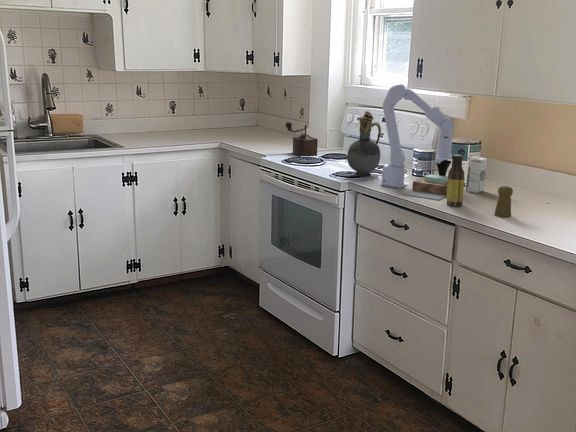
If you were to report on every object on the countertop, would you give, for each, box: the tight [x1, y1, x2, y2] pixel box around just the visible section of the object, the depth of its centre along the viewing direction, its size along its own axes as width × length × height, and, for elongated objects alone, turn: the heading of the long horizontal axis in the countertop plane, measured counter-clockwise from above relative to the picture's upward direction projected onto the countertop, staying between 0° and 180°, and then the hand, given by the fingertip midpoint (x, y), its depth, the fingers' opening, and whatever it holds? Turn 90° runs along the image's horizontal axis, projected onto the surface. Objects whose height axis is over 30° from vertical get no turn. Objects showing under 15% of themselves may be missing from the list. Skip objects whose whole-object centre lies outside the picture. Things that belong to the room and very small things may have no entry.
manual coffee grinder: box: [285, 121, 318, 157], centre depth 349 cm, size 16×11×18 cm
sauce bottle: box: [446, 153, 465, 208], centre depth 247 cm, size 6×6×20 cm
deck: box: [411, 176, 448, 197], centre depth 273 cm, size 15×12×4 cm
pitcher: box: [346, 110, 382, 178], centre depth 299 cm, size 11×19×30 cm, turn 133°
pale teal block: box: [423, 173, 448, 184], centre depth 273 cm, size 9×6×2 cm, turn 56°
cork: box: [493, 185, 514, 219], centre depth 235 cm, size 6×6×11 cm
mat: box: [401, 189, 447, 201], centre depth 265 cm, size 16×9×1 cm, turn 56°
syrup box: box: [465, 156, 488, 194], centre depth 272 cm, size 6×6×14 cm
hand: (442, 177), depth 278 cm, fingers closed
